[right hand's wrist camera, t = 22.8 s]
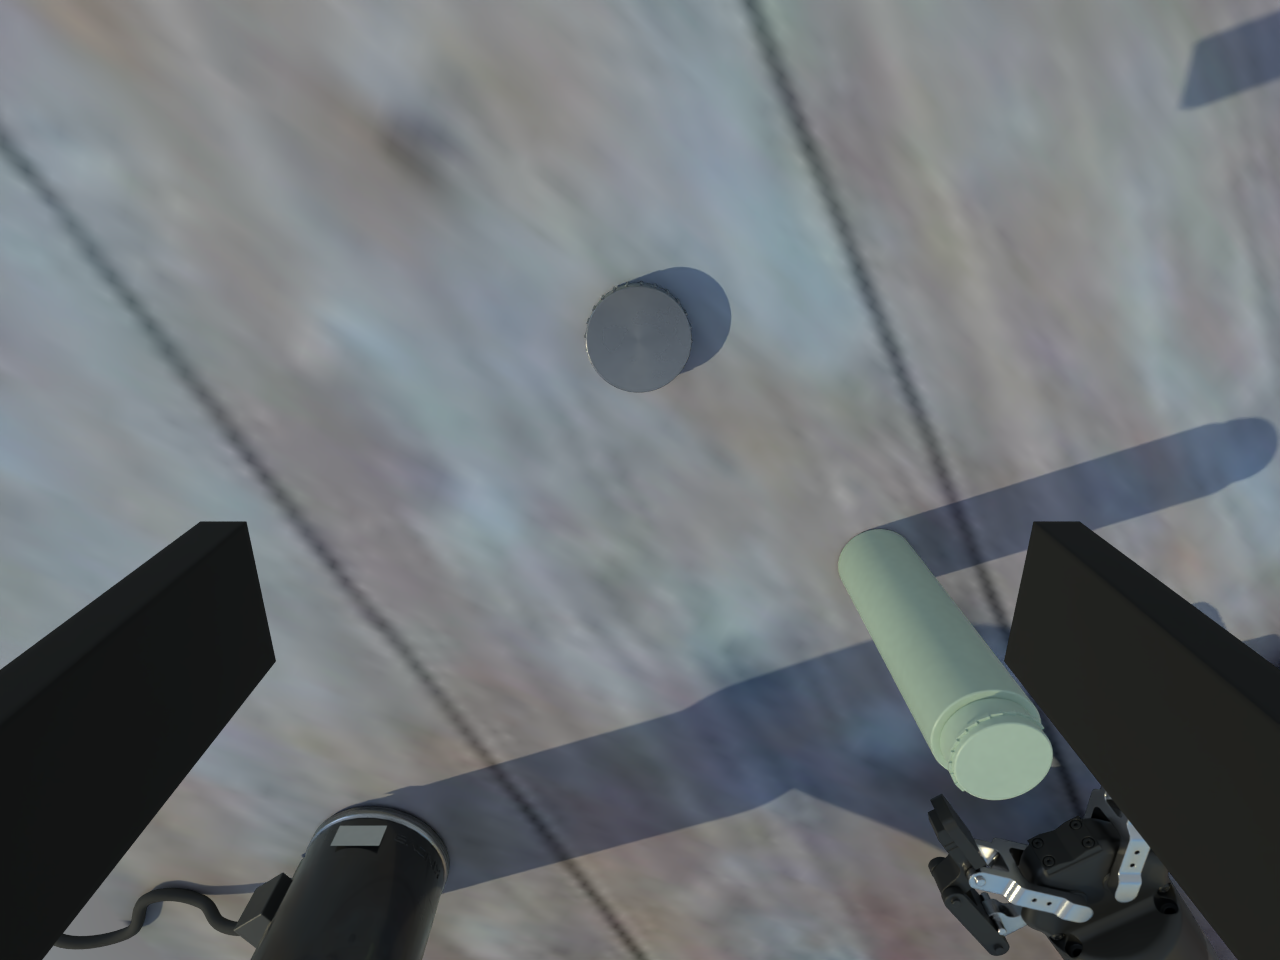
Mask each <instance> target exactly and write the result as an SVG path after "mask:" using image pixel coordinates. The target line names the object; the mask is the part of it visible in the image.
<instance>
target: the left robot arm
mask: <svg viewBox="0 0 1280 960" xmlns="http://www.w3.org/2000/svg"><path fill="white" fill-rule="evenodd" d="M931 803H932V805H933V807H934V810H932V811H930V812H928V816H929V821H930V823H931V825H932V827H933V829H934V831H935V833H936V836H937V838H938V840H939V841H940V843H941V844H942V845H943V846H944V848H945V849H946V851H947V852H948V853H949V855H948V856H947V857H946V858H944V857H936V858H934V859H932V860H931V861H930V862H929V865H928V867H929V869H930V872H931V874H932V876H933V877H934V879H935V881H936V883H937V886H938V888H939V890H940V893H941V896H942V899H943V902H944V904H945V906H946V907H947V908H948V909H949V910H950V911H951V913H952V914H953V915H954V916H955V917H956V918H957V919H958V920H959V921H960V922H961V923H962V924H963V925H964V926H965V928H966V929H967V930H968V931H969V932H970V933H971V934H972V935H973V936H974V937H975V938H976V939H977V940H978V942H979V943H980V944H981V945H982V946H983V947H984V948H985V949H986V950H987V951H988V952H989V953H990V954H991V955H994V956H999V955H1003V954H1005V953H1006V952H1007V951H1008V950H1009V944H1008V942H1007V940H1006V938H1005V936H1006V935H1008V934H1010V933H1012V932H1014V931H1016V930H1018V929H1020V928H1022V927H1024V926H1026V925H1028V926H1029V927H1031V928H1033V929H1035V930H1038V931H1041V932H1043V933H1044V934H1045V935H1046V936H1047V937H1048V939H1049V940H1050V941H1051V943H1052V944H1053V946H1054V947H1055V948H1056V950H1057V951H1058V952H1059V954H1060V955H1061V956H1062V958H1063V959H1064V960H1219V959H1218V956H1217V955H1216V953H1215V951H1214V949H1213V947H1212V946H1211V944H1210V942H1209V941H1208V939H1207V937H1206V936H1205V934H1204V933H1203V931H1202V930H1201V928H1200V927H1199V925H1198V923H1197V921H1196V920H1195V918H1194V917H1193V915H1192V914H1191V912H1190V910H1189V909H1188V907H1187V906H1186V904H1185V902H1184V901H1183V899H1182V898H1181V896H1180V895H1179V893H1178V891H1177V890H1176V888H1175V887H1174V885H1173V883H1172V882H1171V880H1170V879H1169V876H1168V872H1169V871H1168V870H1167V869H1166V867H1165V866H1164V865H1163V863H1162V862H1161V861H1160V860H1159V858H1158V857H1157V856H1156V855H1155V853H1154V852H1153V851H1152V849H1151V848H1150V847H1149V846H1148V844H1147V843H1146V842H1145V841H1144V839H1143V838H1142V837H1141V835H1140V834H1139V833H1138V832H1137V830H1136V829H1135V828H1134V826H1133V825H1132V824H1131V823H1130V821H1129V820H1128V819H1127V818H1126V816H1125V815H1124V814H1123V812H1122V811H1121V810H1120V809H1119V807H1118V806H1117V805H1116V803H1115V802H1114V801H1113V800H1112V798H1111V797H1110V796H1109V795H1108V793H1107V792H1106V791H1105V789H1104V788H1103V787H1102V786H1101V788H1100V789H1094V790H1093V791H1092V793H1091V796H1090V800H1089V803H1088V806H1087V809H1086V812H1085V815H1084V819H1080V817H1079V816H1077V817H1075V818H1073V819H1071V820H1069V821H1066V822H1065V823H1064V824H1062V825H1061V826H1060V827H1058V828H1057V829H1056V830H1054V831H1050V832H1047V833H1043V834H1040V835H1038V836H1036V837H1033V838H1031V839H1029V840H1027V841H1028V842H1029V845H1025V844H1021V843H1017V842H1013V841H1008V840H1004V839H1000V838H994V839H993V840H992V842H986V841H982V840H978V839H974V838H973V837H972V835H971V833H970V831H969V830H968V828H967V827H966V826H965V824H964V823H963V822H962V820H961V819H960V818H959V816H958V815H957V813H956V812H955V811H954V809H953V808H952V807H951V805H950V804H949V803H948V801H947V800H946V799H945V797H944V796H943V795H942V794H941V795H939V796H937V797H935V798H933V799H931ZM986 865H987V866H989V867H990V868H988V867H986ZM1018 866H1019V867H1018ZM448 873H449V857H448V853H447V850H446V847H445V845H444V844H443V842H442V840H441V839H440V837H439V836H438V835H437V834H436V833H435V832H434V831H433V830H432V829H431V828H430V827H429V826H428V825H426V824H425V823H424V822H422V821H421V820H419V819H417V818H416V817H414V816H412V815H409V814H407V813H404V812H402V811H398V810H395V809H391V808H385V807H376V806H367V807H357V808H352V809H348V810H345V811H342V812H339V813H337V814H335V815H333V816H331V817H330V818H328V819H327V820H326V821H325V822H323V823H322V824H321V825H320V827H319V828H318V829H317V830H316V832H315V834H314V836H313V838H312V840H311V842H310V844H309V845H308V848H307V851H306V855H305V857H304V858H303V859H302V860H301V862H300V864H299V866H298V868H297V870H296V872H295V873H294V875H293V877H292V879H290V878H289V877H288V876H287V875H286V874H284V873H281V874H280V875H278V876H276V877H275V878H273V879H271V880H270V881H268V882H266V883H265V884H263V885H262V886H260V887H258V888H257V889H256V890H255V892H254V894H253V895H252V897H251V899H250V901H249V903H248V904H247V906H246V908H245V910H244V912H243V913H242V915H241V917H240V919H239V921H238V922H235V921H231V920H228V919H226V918H224V917H222V916H221V914H220V912H219V910H218V909H217V907H216V905H215V903H214V902H213V901H212V900H211V899H210V898H208V897H207V896H205V895H203V894H200V893H197V892H194V891H190V890H186V889H179V888H163V889H157V890H153V891H150V892H148V893H146V894H144V895H143V896H142V897H140V898H139V899H138V901H137V902H136V904H135V907H134V909H133V914H132V920H131V924H130V925H129V926H128V927H126V928H123V929H120V930H117V931H114V932H110V933H106V934H101V935H94V936H71V935H66V934H62V935H61V936H60V938H59V939H58V940H57V941H56V943H55V944H54V946H57V947H60V948H65V949H90V948H97V947H102V946H107V945H111V944H115V943H118V942H121V941H124V940H126V939H129V938H131V937H132V936H134V935H136V934H137V933H138V932H139V931H140V929H141V927H142V925H143V923H144V920H145V914H146V909H147V906H148V905H149V904H151V903H155V902H160V901H177V902H182V903H186V904H190V905H193V906H195V907H198V908H200V909H201V910H202V911H203V913H204V914H205V916H206V919H207V920H208V922H209V924H210V925H211V926H212V927H213V928H214V929H216V930H217V931H219V932H222V933H224V934H228V935H233V936H241V937H242V938H244V939H245V940H246V941H247V942H249V943H250V944H251V945H253V946H254V947H255V948H256V950H255V952H254V954H253V956H252V958H251V960H422V958H423V955H424V951H425V948H426V944H427V941H428V937H429V934H430V930H431V927H432V923H433V920H434V916H435V912H436V909H437V905H438V902H439V898H440V895H441V893H442V891H443V889H444V887H445V883H446V880H447V876H448ZM974 888H975V889H979V890H983V891H988V892H992V893H996V894H1000V895H1003V896H1004V897H1005V898H1006V899H1007V900H1008V901H1009V902H1011V903H1001V902H999V901H998V900H996V899H990V897H989V895H988V893H986V892H983V893H981V894H980V895H979V894H978V893H977V891H976V890H975V889H974Z"/></svg>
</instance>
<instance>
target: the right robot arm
mask: <svg viewBox="0 0 1280 960" xmlns="http://www.w3.org/2000/svg"><path fill="white" fill-rule="evenodd" d="M275 662H276V660H275V655H274V650H273V645H272V641H271V636H270V631H269V626H268V622H267V617H266V612H265V607H264V603H263V598H262V593H261V588H260V584H259V579H258V574H257V570H256V565H255V560H254V555H253V551H252V546H251V541H250V536H249V532H248V527H247V522H199V523H198V524H197V525H195V526H194V527H192V528H191V529H190V530H188V531H187V532H186V533H184V534H183V535H182V536H180V537H179V538H178V539H176V540H175V541H174V542H172V543H171V544H170V545H168V546H167V547H165V548H164V549H163V550H161V551H160V552H159V553H157V554H156V555H155V556H153V557H152V558H151V559H149V560H148V561H147V562H145V563H144V564H143V565H141V566H140V567H138V568H137V569H136V570H134V571H133V572H132V573H130V574H129V575H128V576H126V577H125V578H124V579H122V580H121V581H120V582H118V583H117V584H116V585H114V586H113V587H111V588H110V589H109V590H107V591H106V592H105V593H103V594H102V595H101V596H99V597H98V598H97V599H95V600H94V601H93V602H91V603H90V604H89V605H87V606H86V607H84V608H83V609H82V610H80V611H79V612H78V613H76V614H75V615H74V616H72V617H71V618H70V619H68V620H67V621H66V622H64V623H63V624H62V625H60V626H59V627H57V628H56V629H55V630H53V631H52V632H51V633H49V634H48V635H47V636H45V637H44V638H43V639H41V640H40V641H39V642H37V643H36V644H35V645H33V646H32V647H30V648H29V649H28V650H26V651H25V652H24V653H22V654H21V655H20V656H18V657H17V658H16V659H14V660H13V661H12V662H10V663H9V664H8V665H6V666H5V667H3V668H2V669H1V670H0V960H42V959H43V958H44V957H45V955H46V954H47V953H48V952H49V950H50V949H51V948H52V947H53V945H54V944H55V943H56V941H57V940H58V939H59V938H60V936H61V935H62V934H63V932H64V931H65V930H66V929H67V927H68V926H69V925H70V924H71V922H72V921H73V920H74V918H75V917H76V916H77V915H78V913H79V912H80V911H81V909H82V908H83V907H84V906H85V904H86V903H87V902H88V901H89V899H90V898H91V897H92V895H93V894H94V893H95V892H96V890H97V889H98V888H99V886H100V885H101V884H102V883H103V881H104V880H105V879H106V878H107V876H108V875H109V874H110V872H111V871H112V870H113V869H114V867H115V866H116V865H117V863H118V862H119V861H120V860H121V858H122V857H123V856H124V855H125V853H126V852H127V851H128V849H129V848H130V847H131V846H132V844H133V843H134V842H135V841H136V839H137V838H138V837H139V835H140V834H141V833H142V832H143V830H144V829H145V828H146V826H147V825H148V824H149V823H150V821H151V820H152V819H153V818H154V816H155V815H156V814H157V812H158V811H159V810H160V809H161V807H162V806H163V805H164V803H165V802H166V801H167V800H168V798H169V797H170V796H171V795H172V793H173V792H174V791H175V789H176V788H177V787H178V786H179V784H180V783H181V782H182V780H183V779H184V778H185V777H186V775H187V774H188V773H189V772H190V770H191V769H192V768H193V766H194V765H195V764H196V763H197V761H198V760H199V759H200V757H201V756H202V755H203V754H204V752H205V751H206V750H207V749H208V747H209V746H210V745H211V743H212V742H213V741H214V740H215V738H216V737H217V736H218V734H219V733H220V732H221V731H222V729H223V728H224V727H225V726H226V724H227V723H228V722H229V720H230V719H231V718H232V717H233V715H234V714H235V713H236V711H237V710H238V709H239V708H240V706H241V705H242V704H243V703H244V701H245V700H246V699H247V697H248V696H249V695H250V694H251V692H252V691H253V690H254V688H255V687H256V686H257V685H258V683H259V682H260V681H261V680H262V678H263V677H264V676H265V674H266V673H267V672H268V671H269V669H270V668H271V667H272V665H273V664H274V663H275ZM1004 662H1005V663H1006V664H1007V665H1008V667H1009V668H1010V669H1011V671H1012V672H1013V673H1014V674H1015V676H1016V677H1017V678H1018V680H1019V681H1020V682H1021V683H1022V685H1023V686H1024V687H1025V688H1026V690H1027V691H1028V692H1029V694H1030V695H1031V696H1032V697H1033V699H1034V700H1035V701H1036V703H1037V704H1038V705H1039V706H1040V708H1041V709H1042V710H1043V711H1044V713H1045V714H1046V715H1047V717H1048V718H1049V719H1050V720H1051V722H1052V723H1053V724H1054V726H1055V727H1056V728H1057V729H1058V731H1059V732H1060V733H1061V734H1062V736H1063V737H1064V738H1065V740H1066V741H1067V742H1068V743H1069V745H1070V746H1071V747H1072V749H1073V750H1074V751H1075V752H1076V754H1077V755H1078V756H1079V757H1080V759H1081V760H1082V761H1083V763H1084V764H1085V765H1086V766H1087V768H1088V769H1089V770H1090V772H1091V773H1092V774H1093V775H1094V777H1095V778H1096V779H1097V780H1098V782H1099V783H1100V784H1101V786H1102V787H1103V788H1104V789H1105V791H1106V792H1107V793H1108V795H1109V796H1110V797H1111V798H1112V800H1113V801H1114V802H1115V803H1116V805H1117V806H1118V807H1119V809H1120V810H1121V811H1122V812H1123V814H1124V815H1125V816H1126V818H1127V819H1128V820H1129V821H1130V823H1131V824H1132V825H1133V826H1134V828H1135V829H1136V830H1137V832H1138V833H1139V834H1140V835H1141V837H1142V838H1143V839H1144V841H1145V842H1146V843H1147V844H1148V846H1149V847H1150V848H1151V849H1152V851H1153V852H1154V853H1155V855H1156V856H1157V857H1158V858H1159V860H1160V861H1161V862H1162V863H1163V865H1164V866H1165V867H1166V869H1167V870H1168V871H1169V872H1170V874H1171V875H1172V876H1173V878H1174V879H1175V880H1176V881H1177V883H1178V884H1179V885H1180V886H1181V888H1182V889H1183V890H1184V892H1185V893H1186V894H1187V895H1188V897H1189V898H1190V899H1191V901H1192V902H1193V903H1194V904H1195V906H1196V907H1197V908H1198V909H1199V911H1200V912H1201V913H1202V915H1203V916H1204V917H1205V918H1206V920H1207V921H1208V922H1209V924H1210V925H1211V926H1212V927H1213V929H1214V930H1215V931H1216V932H1217V934H1218V935H1219V936H1220V938H1221V939H1222V940H1223V941H1224V943H1225V944H1226V945H1227V947H1228V948H1229V949H1230V950H1231V952H1232V953H1233V954H1234V955H1235V957H1236V958H1237V959H1238V960H1280V670H1279V669H1278V668H1277V667H1275V666H1274V665H1272V664H1271V663H1270V662H1268V661H1267V660H1266V659H1264V658H1263V657H1262V656H1260V655H1259V654H1258V653H1256V652H1255V651H1254V650H1252V649H1251V648H1250V647H1248V646H1247V645H1245V644H1244V643H1243V642H1241V641H1240V640H1239V639H1237V638H1236V637H1235V636H1233V635H1232V634H1231V633H1229V632H1228V631H1227V630H1225V629H1224V628H1223V627H1221V626H1220V625H1218V624H1217V623H1216V622H1214V621H1213V620H1212V619H1210V618H1209V617H1208V616H1206V615H1205V614H1204V613H1202V612H1201V611H1200V610H1198V609H1197V608H1196V607H1194V606H1193V605H1191V604H1190V603H1189V602H1187V601H1186V600H1185V599H1183V598H1182V597H1181V596H1179V595H1178V594H1177V593H1175V592H1174V591H1173V590H1171V589H1170V588H1169V587H1167V586H1166V585H1164V584H1163V583H1162V582H1160V581H1159V580H1158V579H1156V578H1155V577H1154V576H1152V575H1151V574H1150V573H1148V572H1147V571H1146V570H1144V569H1143V568H1142V567H1140V566H1139V565H1137V564H1136V563H1135V562H1133V561H1132V560H1131V559H1129V558H1128V557H1127V556H1125V555H1124V554H1123V553H1121V552H1120V551H1119V550H1117V549H1116V548H1115V547H1113V546H1112V545H1110V544H1109V543H1108V542H1106V541H1105V540H1104V539H1102V538H1101V537H1100V536H1098V535H1097V534H1096V533H1094V532H1093V531H1092V530H1090V529H1089V528H1088V527H1086V526H1085V525H1083V524H1082V523H1081V522H1033V527H1032V532H1031V536H1030V541H1029V546H1028V551H1027V555H1026V560H1025V565H1024V570H1023V574H1022V579H1021V584H1020V588H1019V593H1018V598H1017V603H1016V607H1015V612H1014V617H1013V622H1012V626H1011V631H1010V636H1009V641H1008V645H1007V650H1006V655H1005V660H1004Z"/></svg>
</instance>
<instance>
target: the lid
mask: <svg viewBox="0 0 1280 960" xmlns="http://www.w3.org/2000/svg"><path fill="white" fill-rule="evenodd" d="M592 311H593V312H592V315H591V317H590V318H588V320H587V324H588V325H587V330H586V333H585V338H586V352H587V353H588V356H589V359H590V361H591V364H592V365H593V367H594V369H595V370H596V371H597V373H598V374H599V375H600V376H601V377H602V378H603V379H604V380H605V381H607V382H608V383H609V384H611V385H613V386H614V387H616V388H619V389H621V390H625V391H629V392H648V391H653V390H656V389H658V388H661V387H663V386H665V385H666V384H668V383H669V382H671V381H672V380H673V379H674V378H675V377H676V376H677V375H678V374H679V373H680V372H681V370H682V369H683V368H684V366H685V364H686V362H687V360H688V357H689V356H690V350H691V343H693V341H692V336H691V329H692V327H691V324H690V323H689V322H688V319H687V315H688V314H687V312H686V310H683V308H682V306H681V305H680V302H679V299H678V298H677V299H675V298H674V297H673V296H672V295H671V294H670V293H669V290H664V289H662V288H660V287H658V286H656V284H655V283H654V285H652V284H648V283H642V281H640V283H630V284H629V283H628V282H626V284H625V285H622V286H619V287H617V288H616V287H613V290H612V291H610V292H609V293H607V294H606V295H605V296H604V295H602V297H601V300H600V301H599V302H598V304H597V305H596V306H595V305H594V307H593V309H592Z"/></svg>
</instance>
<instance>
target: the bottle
mask: <svg viewBox="0 0 1280 960" xmlns="http://www.w3.org/2000/svg"><path fill="white" fill-rule="evenodd" d="M838 571H839V575H840V578H841V580H842V582H843V584H844V586H845V588H846V590H847V591H848V593H849V595H850V597H851V599H852V601H853V603H854V605H855V607H856V609H857V611H858V612H859V614H860V616H861V618H862V620H863V622H864V624H865V626H866V628H867V630H868V631H869V633H870V635H871V637H872V639H873V641H874V643H875V645H876V647H877V649H878V651H879V652H880V654H881V656H882V658H883V660H884V662H885V664H886V666H887V668H888V670H889V671H890V673H891V675H892V677H893V679H894V681H895V683H896V685H897V687H898V689H899V691H900V692H901V694H902V696H903V698H904V700H905V702H906V704H907V706H908V708H909V710H910V712H911V713H912V715H913V717H914V719H915V721H916V723H917V725H918V727H919V729H920V731H921V732H922V734H923V736H924V738H925V740H926V742H927V744H928V746H929V748H930V750H931V752H932V753H933V755H934V757H935V759H936V760H937V761H938V762H939V764H940V765H942V766H943V767H944V768H945V769H947V770H948V771H949V773H950V775H951V777H952V779H953V781H954V783H955V785H956V786H957V787H958V788H959V789H960V790H962V791H966V792H968V793H969V794H971V795H973V796H975V797H978V798H981V799H986V800H1004V799H1010V798H1013V797H1017V796H1019V795H1022V794H1024V793H1026V792H1028V791H1029V790H1031V789H1032V788H1034V787H1035V786H1036V785H1038V784H1039V783H1040V782H1041V781H1042V780H1043V779H1044V777H1045V776H1046V775H1047V773H1048V771H1049V769H1050V767H1051V764H1052V760H1053V750H1052V745H1051V743H1050V741H1049V739H1048V737H1047V736H1046V735H1045V733H1044V732H1043V731H1042V729H1044V727H1043V725H1042V724H1041V718H1040V715H1039V713H1038V711H1037V709H1036V707H1035V706H1034V705H1033V703H1032V702H1031V701H1030V699H1029V698H1028V697H1027V695H1026V694H1025V693H1024V692H1023V690H1022V689H1021V688H1020V686H1019V685H1018V684H1017V683H1016V681H1015V680H1014V679H1013V677H1012V676H1011V675H1010V673H1009V672H1008V671H1007V670H1006V668H1005V667H1004V666H1003V664H1002V663H1001V662H1000V661H999V659H998V658H997V657H996V655H995V654H994V653H993V651H992V650H991V649H990V648H989V646H988V645H987V644H986V642H985V641H984V640H983V639H982V637H981V636H980V635H979V633H978V632H977V631H976V630H975V628H974V627H973V626H972V624H971V623H970V622H969V620H968V619H967V618H966V617H965V615H964V614H963V613H962V611H961V610H960V609H959V608H958V606H957V605H956V604H955V602H954V601H953V600H952V599H951V597H950V596H949V595H948V593H947V592H946V591H945V589H944V588H943V587H942V586H941V584H940V583H939V582H938V580H937V579H936V578H935V577H934V575H933V574H932V573H931V571H930V570H929V569H928V567H927V566H926V565H925V564H924V562H923V561H922V560H921V558H920V557H919V556H918V555H917V553H916V552H915V551H914V549H913V548H912V547H911V546H910V544H909V543H908V542H907V540H906V539H905V538H904V537H902V536H901V535H900V534H898V533H896V532H893V531H890V530H885V529H875V530H869V531H866V532H863V533H861V534H859V535H857V536H856V537H854V538H853V539H852V540H850V541H849V542H848V543H847V544H846V546H845V547H844V549H843V550H842V552H841V555H840V557H839V561H838Z"/></svg>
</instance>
